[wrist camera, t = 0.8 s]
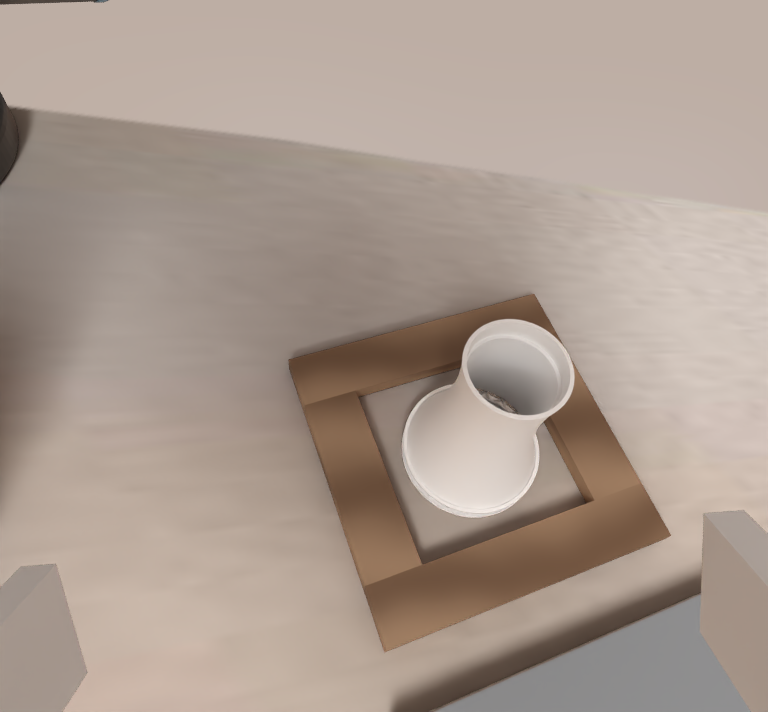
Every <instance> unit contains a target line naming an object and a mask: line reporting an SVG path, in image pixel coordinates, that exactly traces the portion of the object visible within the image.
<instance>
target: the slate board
mask: <svg viewBox="0 0 768 712" xmlns="http://www.w3.org/2000/svg"><path fill="white" fill-rule="evenodd" d="M700 608H701V592H700V593H698V594H696V595H694V596H691V597H689V598H687V599H684V600H682V601H680V602H678V603H675V604H673V605H671V606H668V607H666V608H664V609H662V610H659V611H657V612H655V613H652V614H650V615H648V616H646V617H643V618H641V619H639V620H637V621H634V622H632V623H630V624H627V625H625V626H623V627H621V628H618V629H616V630H614V631H611V632H609V633H607V634H605V635H602V636H600V637H598V638H595V639H593V640H591V641H589V642H586V643H584V644H582V645H579V646H577V647H575V648H573V649H570V650H568V651H566V652H564V653H561V654H559V655H557V656H554V657H552V658H550V659H548V660H545V661H543V662H541V663H538V664H536V665H534V666H532V667H529V668H527V669H525V670H522V671H520V672H518V673H516V674H513V675H511V676H509V677H506V678H504V679H502V680H500V681H497V682H495V683H493V684H491V685H488V686H486V687H484V688H481V689H479V690H477V691H475V692H472V693H470V694H468V695H465V696H463V697H461V698H459V699H456V700H454V701H452V702H449V703H447V704H445V705H443V706H440V707H438V708H436V709H433V710H431V711H429V712H751V711H750V709H749V708H748V706H747V705H746V703H745V702H744V700H743V698H742V697H741V695H740V694H739V692H738V691H737V689H736V688H735V686H734V684H733V683H732V681H731V680H730V678H729V677H728V675H727V673H726V672H725V670H724V669H723V667H722V666H721V664H720V663H719V661H718V659H717V658H716V656H715V655H714V653H713V652H712V650H711V648H710V647H709V645H708V644H707V642H706V641H705V639H704V638H703V636H702V634H701V633H700Z"/></svg>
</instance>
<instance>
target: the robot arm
mask: <svg viewBox="0 0 768 712" xmlns="http://www.w3.org/2000/svg"><path fill="white" fill-rule="evenodd" d="M86 1H87V2H88V1H93V2H106V1H108V0H0V4H26V3H27V4H28V3H56V2H57V3H58V2H86ZM17 148H18V130H17V126H16V123H15V120H14V118H13V116H12V114H11V112H10V110H9V108H8V106H7V104H6V102H5V100H4V98H3V97H2V94H1V93H0V182H1V181H2V180H3V178H4V177H5V176H6V174H7V173H8V171H9V169H10V168H11V166H12V163H13V161H14V159H15V156H16V152H17ZM700 633H701V634H702V636H703V638H704V639H705V641H706V642H707V644H708V645H709V647H710V648H711V650H712V652H713V653H714V655H715V656H716V658H717V659H718V661H719V663H720V664H721V666H722V667H723V669H724V670H725V672H726V673H727V675H728V677H729V678H730V680H731V681H732V683H733V684H734V686H735V688H736V689H737V691H738V692H739V694H740V695H741V697H742V698H743V700H744V702H745V703H746V705H747V706H748V708H749V709H750V711H751V712H768V533H767V532H766V531H765V530H764V529H763V528H762V527H761V526H760V525H759V524H758V523H757V522H756V521H755V520H754V519H753V518H752V517H750V516H749V515H748V514H747V513H746V512H745V511H744V510H738V511H725V512H713V513H704V515H703V546H702V577H701V608H700ZM87 673H88V672H87V669H86V665H85V662H84V659H83V655H82V652H81V648H80V645H79V641H78V638H77V634H76V631H75V628H74V624H73V621H72V617H71V614H70V610H69V607H68V603H67V600H66V596H65V593H64V590H63V586H62V583H61V579H60V576H59V572H58V569H57V565H56V564H48V565H35V566H22V567H20V568H19V569H18V570H17V571H16V572H15V573H14V574H13V575H12V576H11V577H10V578H9V579H8V580H7V581H6V582H5V583H4V584H3V585H2V586H1V587H0V712H63V710H64V709H65V707H66V706H67V704H68V702H69V701H70V699H71V698H72V696H73V695H74V693H75V691H76V690H77V688H78V687H79V685H80V684H81V682H82V680H83V679H84V677H85V676H86V674H87Z"/></svg>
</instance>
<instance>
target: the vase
mask: <svg viewBox="0 0 768 712" xmlns="http://www.w3.org/2000/svg"><path fill="white" fill-rule="evenodd" d="M573 387H574V368H573V364H572V361H571V359H570V356H569V354H568V353H567V351H566V349H565V348H564V346H563V345H562V344H561V343H560V342H559V340H558V339H557V338H555V337H554V336H553V335H552V334H551V333H549V332H548V331H547V330H545V329H543V328H542V327H540V326H538V325H535V324H533V323H530V322H527V321H523V320H517V319H502V320H496V321H493V322H490V323H487V324H485V325H483V326H482V327H480V328H479V329H477V330H476V331H475V332H474V333H473V334H472V335H471V336H470V338H469V339H468V341H467V343H466V345H465V347H464V351H463V355H462V364H461V369H460V372H459V375H458V377H457V379H456V381H455V383H454V384H451V385H446V386H443V387H440V388H438V389H436V390H434V391H432V392H430V393H429V394H427V395H426V396H425V397H423V398H422V399H421V400H420V401H419V402H418V403H417V405H416V406H415V407H414V408H413V410H412V412H411V413H410V415H409V417H408V420H407V423H406V426H405V429H404V432H403V436H402V448H401V449H402V458H403V463H404V467H405V469H406V472H407V474H408V476H409V478H410V480H411V482H412V483H413V485H414V486H415V488H416V489H417V490H418V491H419V493H420V494H421V495H422V496H423V497H424V498H426V499H427V500H428V501H429V502H430V503H432V504H433V505H435V506H436V507H438V508H440V509H441V510H444V511H446V512H448V513H451V514H454V515H457V516H462V517H469V518H481V517H487V516H492V515H495V514H498V513H500V512H502V511H505V510H506V509H508V508H510V507H511V506H512V505H514V504H515V503H516V502H517V501H518V500H519V499H520V498H521V497H522V496H523V495H524V494H525V493H526V492H527V490H528V489H529V488H530V486H531V484H532V483H533V481H534V479H535V476H536V473H537V470H538V465H539V445H538V440H537V436H536V431H537V429H538V427H539V426H540V425H541V424H542V423H543V422H544V421H545V420H546V419H547V418H548V417H549V416H551V415H552V414H553V413H555V412H557V411H558V410H559V409H560V408H562V407H563V406H564V405H565V403H566V402H567V401H568V399H569V397H570V395H571V393H572V390H573ZM476 388H477V389H481V390H483V391H477V390H476ZM484 390H485V391H486V392H485V393H484ZM487 391H488V392H490V393H493V394H495V395H497V396H499V397H501V398H500V399H497V398H495V397H493V396H491V395H489V394H488V392H487ZM502 399H503V401H501V400H502ZM505 401H507V402H508V403H509V404H510V405H512V406H513V407H514V408H515V409H516V410H517V411H518V413H517V414H516V412H517V411H513V410H512V409H511V408H510V407H509V406H507V405H506V403H505ZM519 414H520V415H519Z"/></svg>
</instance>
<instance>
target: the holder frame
mask: <svg viewBox="0 0 768 712" xmlns="http://www.w3.org/2000/svg"><path fill="white" fill-rule="evenodd" d="M502 319H517V320H523V321H527V322H530V323H533V324H535V325H538V326H540V327H542V328H543V329H545V330H547V331H548V332H549V333H551V334H552V335H553V336H554V337H555V338H557V339H558V340H559V342H560V343H561V344H562V342H561V340H560V339H559V337H558V335H557V333H556V332H555V330H554V328H553V326H552V325H551V323H550V321H549V319H548V317H547V316H546V314H545V312H544V310H543V309H542V307H541V305H540V303H539V302H538V300H537V298H536V296H535V295H534V294H531V295H528V296H524V297H520V298H516V299H513V300H509V301H505V302H502V303H498V304H494V305H490V306H487V307H483V308H479V309H475V310H472V311H468V312H464V313H460V314H457V315H453V316H449V317H446V318H442V319H438V320H434V321H431V322H427V323H423V324H419V325H416V326H412V327H408V328H405V329H401V330H397V331H393V332H390V333H386V334H382V335H378V336H375V337H371V338H367V339H364V340H360V341H356V342H352V343H349V344H345V345H341V346H337V347H334V348H330V349H326V350H322V351H319V352H315V353H311V354H308V355H304V356H300V357H296V358H293V359H289V369H290V372H291V375H292V378H293V381H294V384H295V387H296V390H297V393H298V396H299V399H300V402H301V405H302V408H303V411H304V414H305V417H306V420H307V423H308V426H309V429H310V432H311V435H312V438H313V441H314V444H315V447H316V450H317V452H318V455H319V458H320V461H321V464H322V467H323V470H324V473H325V476H326V479H327V482H328V485H329V488H330V491H331V494H332V497H333V500H334V503H335V506H336V509H337V512H338V515H339V518H340V521H341V524H342V527H343V530H344V533H345V536H346V539H347V542H348V545H349V548H350V551H351V554H352V557H353V560H354V563H355V566H356V569H357V572H358V575H359V577H360V580H361V583H362V586H363V589H364V592H365V595H366V598H367V601H368V604H369V607H370V610H371V613H372V616H373V619H374V622H375V625H376V628H377V631H378V634H379V637H380V640H381V643H382V646H383V649H384V652H387V651H389V650H392V649H394V648H397V647H399V646H402V645H404V644H406V643H409V642H411V641H414V640H416V639H419V638H421V637H424V636H426V635H429V634H431V633H434V632H436V631H439V630H441V629H444V628H446V627H448V626H451V625H453V624H456V623H458V622H461V621H463V620H466V619H468V618H471V617H473V616H476V615H478V614H481V613H483V612H486V611H488V610H490V609H493V608H495V607H498V606H500V605H503V604H505V603H508V602H510V601H513V600H515V599H518V598H520V597H523V596H525V595H528V594H530V593H533V592H535V591H537V590H540V589H542V588H545V587H547V586H550V585H552V584H555V583H557V582H560V581H562V580H565V579H567V578H570V577H572V576H575V575H577V574H579V573H582V572H584V571H587V570H589V569H592V568H594V567H597V566H599V565H602V564H604V563H607V562H609V561H612V560H614V559H617V558H619V557H621V556H624V555H626V554H629V553H631V552H634V551H636V550H639V549H641V548H644V547H646V546H649V545H651V544H654V543H656V542H659V541H661V540H663V539H665V538H667V537H669V536H671V534H670V533H669V531H668V529H667V527H666V526H665V524H664V522H663V520H662V519H661V517H660V515H659V513H658V511H657V510H656V508H655V506H654V504H653V503H652V501H651V499H650V497H649V496H648V494H647V492H646V490H645V489H644V487H643V485H642V483H641V482H640V480H639V478H638V476H637V474H636V473H635V471H634V469H633V467H632V466H631V464H630V462H629V460H628V459H627V457H626V455H625V453H624V452H623V450H622V448H621V446H620V444H619V443H618V441H617V439H616V437H615V436H614V434H613V432H612V430H611V429H610V427H609V425H608V423H607V422H606V420H605V418H604V416H603V414H602V413H601V411H600V409H599V407H598V406H597V404H596V402H595V400H594V399H593V397H592V395H591V393H590V392H589V390H588V388H587V386H586V385H585V383H584V381H583V379H582V377H581V376H580V374H579V372H578V370H577V369H576V367H575V365H574V363H573V362H572V364H573V368H574V387H573V390H572V393H571V395H570V397H569V399H568V401H567V402H566V403H565V405H564V406H563V407H562V408H560V409H559V410H558V411H557V412H555V413H553V414H552V415H551V416H549V417H548V418H547V419H546V420H545V421H544V423H545V425H546V427H547V429H548V431H549V433H550V434H551V436H552V438H553V440H554V442H555V444H556V446H557V448H558V450H559V452H560V454H561V456H562V458H563V460H564V461H565V463H566V465H567V467H568V469H569V471H570V473H571V475H572V477H573V479H574V481H575V483H576V485H577V487H578V488H579V490H580V492H581V494H582V496H583V498H584V500H585V502H586V504H584V505H581V506H578V507H576V508H573V509H570V510H567V511H565V512H562V513H559V514H557V515H554V516H551V517H549V518H546V519H543V520H541V521H538V522H535V523H533V524H530V525H527V526H525V527H522V528H519V529H517V530H514V531H511V532H508V533H506V534H503V535H500V536H498V537H495V538H492V539H490V540H487V541H484V542H482V543H479V544H476V545H474V546H471V547H468V548H466V549H463V550H460V551H458V552H455V553H452V554H450V555H447V556H444V557H441V558H439V559H436V560H433V561H431V562H428V563H425V564H423V565H422V563H421V560H420V557H419V555H418V552H417V550H416V547H415V544H414V542H413V539H412V536H411V534H410V531H409V529H408V526H407V523H406V521H405V518H404V516H403V513H402V510H401V508H400V505H399V502H398V500H397V497H396V495H395V492H394V489H393V487H392V484H391V482H390V479H389V476H388V474H387V471H386V469H385V466H384V463H383V461H382V458H381V455H380V453H379V450H378V448H377V445H376V442H375V440H374V437H373V435H372V432H371V429H370V427H369V424H368V421H367V419H366V416H365V414H364V411H363V408H362V406H361V403H360V401H359V398H358V397H360V396H364V395H367V394H370V393H374V392H377V391H381V390H384V389H388V388H391V387H394V386H398V385H401V384H405V383H408V382H412V381H415V380H418V379H422V378H425V377H429V376H432V375H436V374H439V373H442V372H446V371H449V370H453V369H456V368H460V367H461V364H462V355H463V351H464V347H465V345H466V343H467V341H468V339H469V338H470V336H471V335H472V334H473V333H474V332H475V331H476V330H477V329H479V328H480V327H482V326H483V325H485V324H487V323H490V322H493V321H496V320H502ZM562 345H563V344H562ZM564 348H565V347H564ZM570 359H571V358H570ZM571 361H572V360H571Z"/></svg>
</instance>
